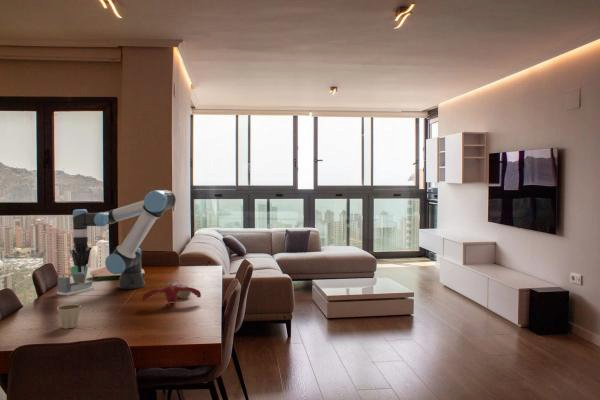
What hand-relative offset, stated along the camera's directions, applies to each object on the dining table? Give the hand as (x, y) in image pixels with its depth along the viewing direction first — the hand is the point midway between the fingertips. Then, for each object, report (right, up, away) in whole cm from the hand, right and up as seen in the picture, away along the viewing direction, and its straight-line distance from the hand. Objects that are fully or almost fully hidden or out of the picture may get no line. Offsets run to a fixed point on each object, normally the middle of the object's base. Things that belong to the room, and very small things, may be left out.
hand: (81, 277), depth 289 cm
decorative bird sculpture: (+61, -9, -35) cm, 70 cm away
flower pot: (+25, -11, -71) cm, 76 cm away
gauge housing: (-2, -8, -3) cm, 8 cm away
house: (+6, -6, +42) cm, 42 cm away
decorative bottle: (+58, -8, -11) cm, 59 cm away
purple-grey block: (-1, -6, -3) cm, 7 cm away
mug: (-10, -7, +21) cm, 24 cm away
